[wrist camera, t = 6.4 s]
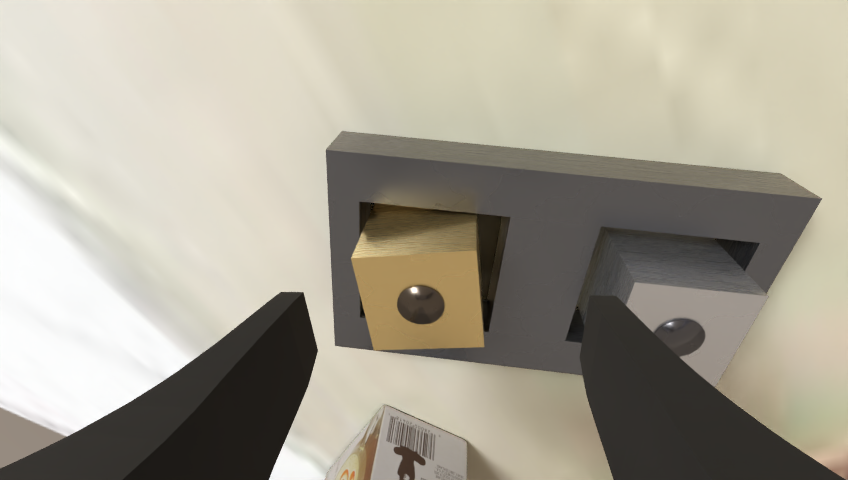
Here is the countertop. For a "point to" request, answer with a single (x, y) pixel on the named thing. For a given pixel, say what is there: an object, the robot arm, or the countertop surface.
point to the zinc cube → (677, 292)
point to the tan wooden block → (420, 278)
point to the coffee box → (401, 451)
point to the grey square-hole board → (547, 228)
